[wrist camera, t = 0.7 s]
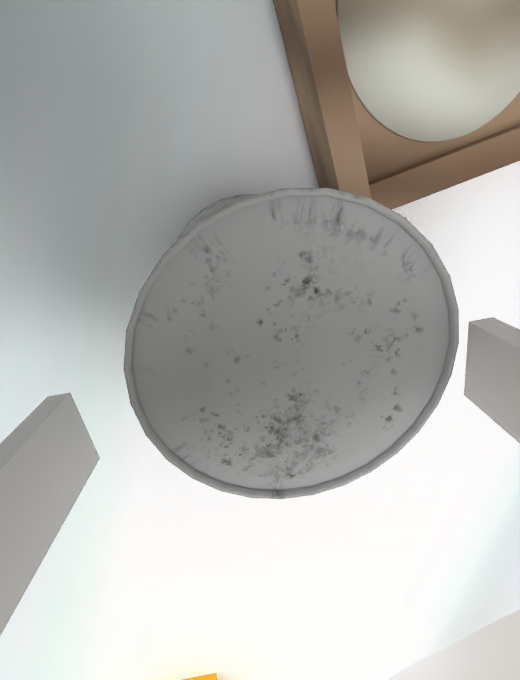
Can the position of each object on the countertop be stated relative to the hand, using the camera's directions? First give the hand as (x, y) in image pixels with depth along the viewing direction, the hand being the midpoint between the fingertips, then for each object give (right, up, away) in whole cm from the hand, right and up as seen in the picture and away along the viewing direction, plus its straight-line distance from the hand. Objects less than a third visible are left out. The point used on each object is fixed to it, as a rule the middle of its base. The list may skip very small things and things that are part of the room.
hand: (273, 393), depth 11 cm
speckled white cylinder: (-1, +6, +10) cm, 11 cm away
